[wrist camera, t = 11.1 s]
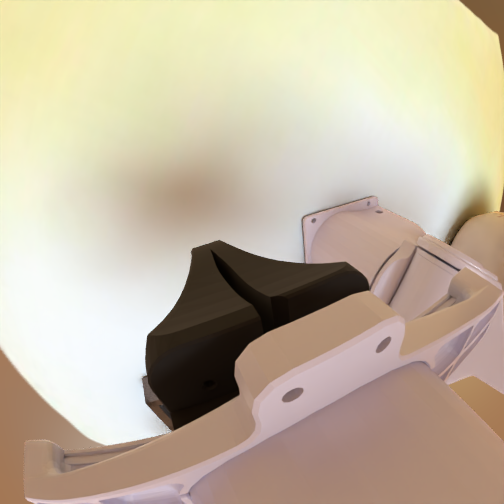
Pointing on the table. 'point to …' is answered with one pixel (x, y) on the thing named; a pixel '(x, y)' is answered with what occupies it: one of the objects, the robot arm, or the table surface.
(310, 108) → the table surface
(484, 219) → the chamber pot
